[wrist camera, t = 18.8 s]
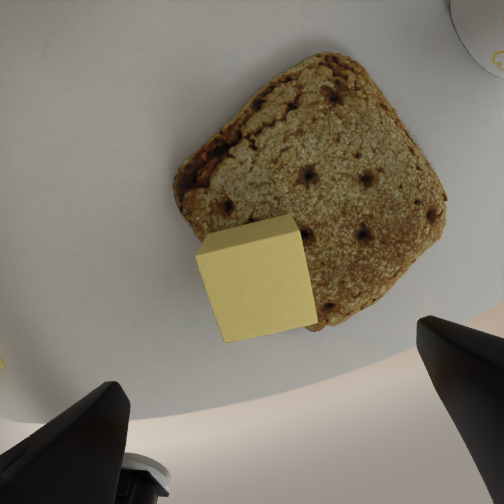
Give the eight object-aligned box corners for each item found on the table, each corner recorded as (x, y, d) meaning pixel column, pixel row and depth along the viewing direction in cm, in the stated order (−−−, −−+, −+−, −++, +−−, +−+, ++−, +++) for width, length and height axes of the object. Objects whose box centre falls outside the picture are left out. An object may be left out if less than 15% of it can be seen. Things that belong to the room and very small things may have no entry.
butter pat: (306, 290, 17) (318, 323, 14) (229, 308, 18) (223, 344, 14) (290, 213, 16) (299, 230, 12) (206, 233, 16) (193, 255, 13)
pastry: (416, 319, 21) (433, 339, 18) (179, 312, 21) (169, 335, 18) (447, 84, 16) (472, 78, 13) (186, 48, 16) (174, 31, 13)
